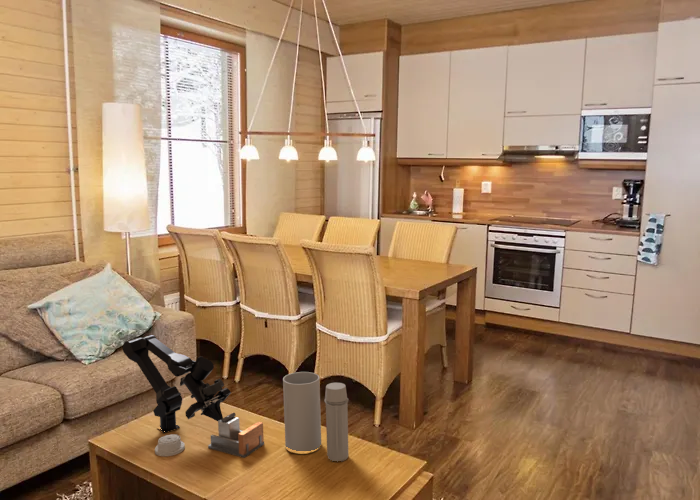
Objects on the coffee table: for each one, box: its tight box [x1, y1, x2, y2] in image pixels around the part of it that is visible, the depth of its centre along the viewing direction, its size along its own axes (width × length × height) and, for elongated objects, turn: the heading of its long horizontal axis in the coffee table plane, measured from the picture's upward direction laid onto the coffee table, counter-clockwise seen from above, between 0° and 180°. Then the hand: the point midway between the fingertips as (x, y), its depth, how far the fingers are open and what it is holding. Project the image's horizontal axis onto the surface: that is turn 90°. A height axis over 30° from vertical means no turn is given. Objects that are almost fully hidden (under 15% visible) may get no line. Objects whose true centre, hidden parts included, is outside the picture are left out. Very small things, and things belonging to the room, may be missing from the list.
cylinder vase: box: [282, 371, 322, 451], centre depth 194 cm, size 12×12×25 cm
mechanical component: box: [154, 433, 185, 457], centre depth 196 cm, size 10×4×10 cm
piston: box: [217, 412, 241, 441], centre depth 198 cm, size 5×6×9 cm
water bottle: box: [324, 382, 349, 463], centre depth 185 cm, size 9×8×25 cm
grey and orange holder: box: [207, 421, 265, 459], centre depth 197 cm, size 16×11×8 cm
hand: (222, 421), depth 199 cm, fingers closed
